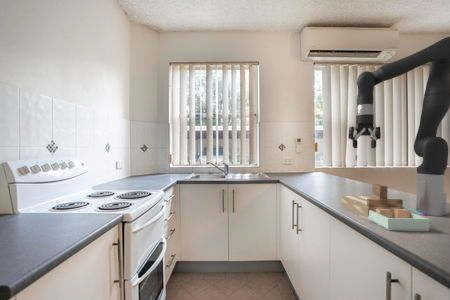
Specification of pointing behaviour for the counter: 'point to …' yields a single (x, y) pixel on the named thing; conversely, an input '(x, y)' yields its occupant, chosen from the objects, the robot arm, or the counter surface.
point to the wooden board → (362, 205)
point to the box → (400, 222)
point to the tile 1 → (384, 212)
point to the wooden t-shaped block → (382, 198)
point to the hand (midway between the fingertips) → (364, 148)
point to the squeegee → (414, 211)
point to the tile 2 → (401, 213)
